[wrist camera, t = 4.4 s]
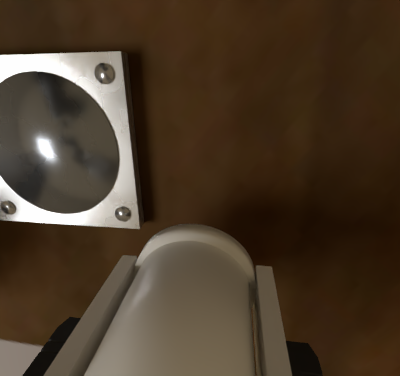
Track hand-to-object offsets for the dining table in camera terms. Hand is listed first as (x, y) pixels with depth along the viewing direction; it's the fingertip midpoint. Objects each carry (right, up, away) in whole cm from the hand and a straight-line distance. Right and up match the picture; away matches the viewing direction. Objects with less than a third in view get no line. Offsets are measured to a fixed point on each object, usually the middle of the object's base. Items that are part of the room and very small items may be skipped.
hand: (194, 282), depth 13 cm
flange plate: (-8, +8, +2) cm, 12 cm away
